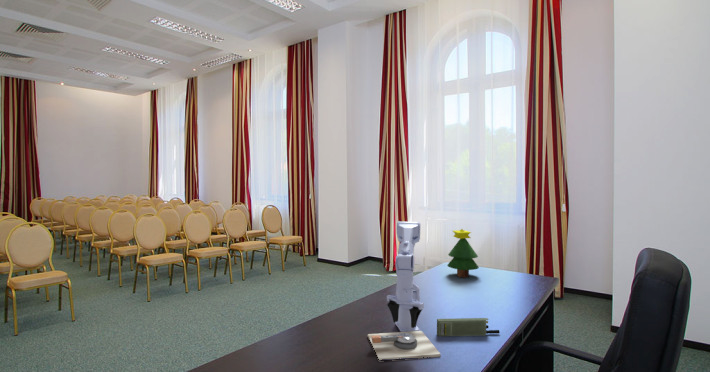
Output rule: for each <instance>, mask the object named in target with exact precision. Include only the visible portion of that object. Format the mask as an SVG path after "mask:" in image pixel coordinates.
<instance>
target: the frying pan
mask: <svg viewBox="0 0 710 372" xmlns="http://www.w3.org/2000/svg"><path fill="white" fill-rule="evenodd" d="M393 341H397V342H399V343H403V344H411V343H413V342H415V336H414V335H412V334H409V333H400V334H397V335H389V336H380V335H376V336H372V343H381V342H393Z"/></svg>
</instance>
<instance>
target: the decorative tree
mask: <svg viewBox="0 0 710 372" xmlns="http://www.w3.org/2000/svg"><path fill="white" fill-rule="evenodd" d="M452 232H453V233H454V235H452V237H454V238H456V239H459V240H458V241H457V243H456V244H455V245H454V246H453V248H452V249H451V250H450V252H449V253H448V256H449V257H452V259H450V261H449V262H448V264H447V266H446V267H447V268H451V269H454V270H456V277H458V276H459V278H469V277H470V271H473V270H478V269H479V265H478V264H477V263H476V261H475V260H474V259H476V258H478V257H479V256H478V254H477V252H476V251H475V250H474V249H473V247H472V245H471V244H470V242H469V241H468V239H471V237H470V234H471V233H472V232H471V231H468V230H465V229H463V228H461V229H460V230H456V229H455V230H452Z"/></svg>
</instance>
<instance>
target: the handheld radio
mask: <svg viewBox="0 0 710 372" xmlns="http://www.w3.org/2000/svg"><path fill="white" fill-rule="evenodd" d="M487 324H489V318H488V317H471V318H470V317H466V318H463V317H462V318H437V319H436V336H437V337H479V336H481V337H484V336H487V334H490V335H491V334H500V330H499V329H491V330H490V329H489V325H487ZM487 329H489V330H487Z"/></svg>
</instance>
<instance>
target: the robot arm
mask: <svg viewBox="0 0 710 372" xmlns="http://www.w3.org/2000/svg"><path fill="white" fill-rule="evenodd" d="M396 235H397V236H396V237H397V240H398V242H399V245H398V251H397V255H396V256H395V270H396V271H395V272H396V273H395V274H396V287H395V288H396V289H395V295H393V294H388V295H386V302H387V304H386V306H387V307H388V309H389V311H390V313H391V317H392V322H393V323H394V324H395V325H396V327H397V328H398V330H399V332H410V331H421V329H420V328H419V327H418V326H417V323H418V319H419V318H420V314H421V312H422V311H423V309H424V308H425V307H424V306H425V305H424V304H425V303H424V302H421V301H420V300H421V298H420V296H421V295H420V294H421V293H420V287H419V286H418V285H417V284H415V282H414V271H415V270H414V269H415V255H414V254H415V253H414V252H415V246H416V244H417V243H419V242H420V240H421V222H420V221H400V220H398V221H397V222H396Z"/></svg>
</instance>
